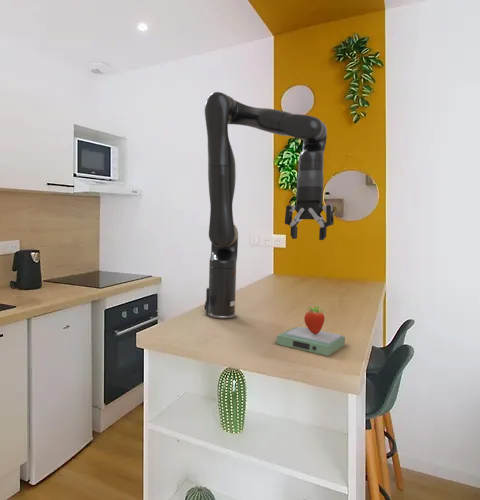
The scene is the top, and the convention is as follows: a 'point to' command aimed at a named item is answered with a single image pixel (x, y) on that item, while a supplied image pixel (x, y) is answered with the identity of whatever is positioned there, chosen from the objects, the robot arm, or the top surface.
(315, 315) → the fruit
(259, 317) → the top surface
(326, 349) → the scale
